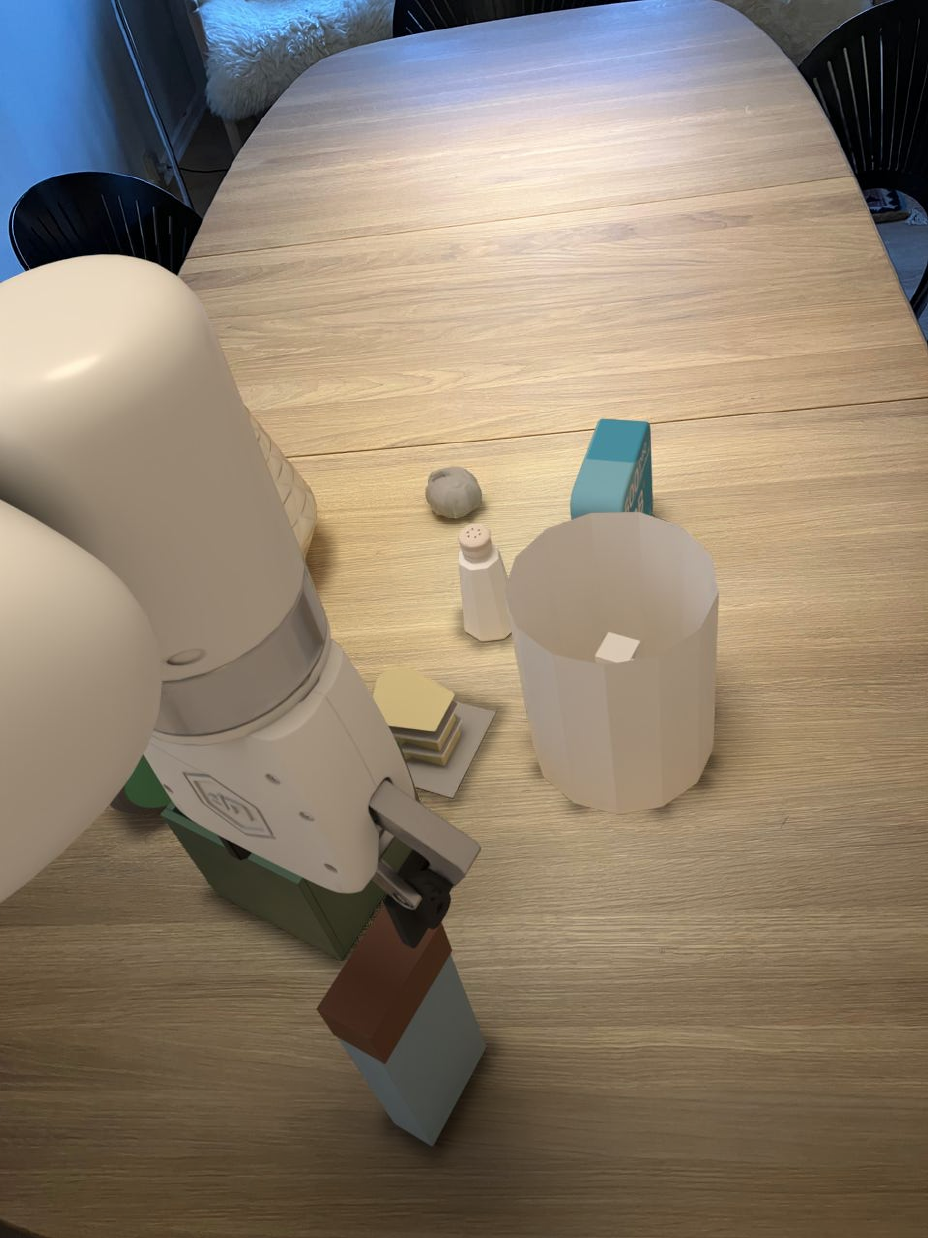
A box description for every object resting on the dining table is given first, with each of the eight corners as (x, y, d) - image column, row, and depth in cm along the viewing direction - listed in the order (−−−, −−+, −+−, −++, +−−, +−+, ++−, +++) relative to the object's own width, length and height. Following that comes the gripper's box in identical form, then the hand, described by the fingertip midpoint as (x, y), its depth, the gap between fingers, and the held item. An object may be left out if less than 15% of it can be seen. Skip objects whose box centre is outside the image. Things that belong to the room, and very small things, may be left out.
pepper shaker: (453, 637, 94) (432, 550, 86) (475, 594, 97) (455, 507, 89) (509, 648, 92) (492, 560, 84) (529, 604, 95) (514, 515, 87)
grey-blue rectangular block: (432, 1147, 65) (381, 1063, 54) (393, 1123, 66) (336, 1036, 55) (487, 1046, 69) (449, 948, 58) (449, 1026, 70) (405, 926, 59)
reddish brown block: (385, 1065, 54) (370, 1040, 51) (332, 1034, 55) (315, 1009, 53) (453, 950, 58) (442, 922, 55) (401, 924, 59) (388, 895, 57)
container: (671, 840, 77) (668, 690, 64) (501, 775, 83) (467, 627, 70) (736, 696, 84) (746, 537, 71) (577, 647, 91) (559, 492, 77)
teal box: (627, 603, 93) (621, 503, 84) (579, 596, 95) (568, 498, 86) (653, 513, 100) (650, 413, 92) (608, 509, 102) (600, 410, 93)
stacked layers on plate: (496, 712, 87) (486, 671, 83) (452, 798, 82) (440, 759, 78) (392, 685, 91) (378, 644, 87) (345, 766, 86) (328, 727, 82)
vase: (236, 668, 95) (140, 477, 79) (132, 592, 105) (26, 407, 88) (369, 557, 103) (307, 360, 86) (260, 495, 112) (185, 307, 95)
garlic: (418, 521, 105) (408, 482, 101) (441, 487, 108) (432, 448, 104) (471, 532, 103) (463, 492, 99) (493, 497, 106) (486, 457, 102)
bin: (341, 961, 74) (297, 884, 66) (215, 893, 80) (159, 814, 71) (429, 827, 81) (399, 740, 72) (307, 772, 86) (265, 686, 78)
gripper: (-35, 634, 37) (150, 868, 49) (356, 811, 29) (458, 1035, 42) (108, 500, 41) (246, 748, 53) (487, 625, 33) (543, 880, 45)
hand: (339, 874), depth 47 cm, fingers open, 9 cm apart
